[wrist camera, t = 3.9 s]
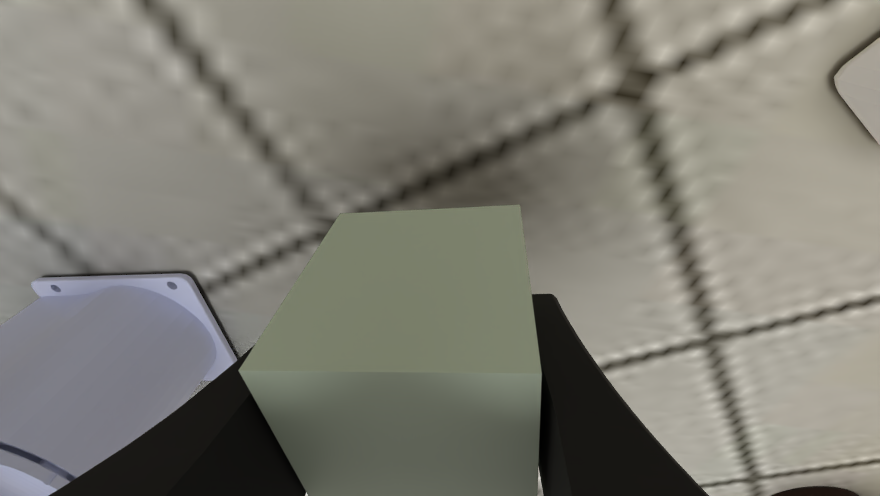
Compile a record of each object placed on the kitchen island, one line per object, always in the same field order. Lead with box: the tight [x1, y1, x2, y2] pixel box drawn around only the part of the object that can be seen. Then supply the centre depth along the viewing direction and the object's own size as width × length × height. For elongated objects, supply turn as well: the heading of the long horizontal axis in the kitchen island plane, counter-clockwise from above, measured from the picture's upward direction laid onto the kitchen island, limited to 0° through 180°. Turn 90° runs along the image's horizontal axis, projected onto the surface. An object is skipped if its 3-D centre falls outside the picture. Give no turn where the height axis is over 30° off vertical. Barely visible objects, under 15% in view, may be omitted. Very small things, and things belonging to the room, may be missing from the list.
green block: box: [238, 205, 542, 496], centre depth 9 cm, size 4×4×5 cm
